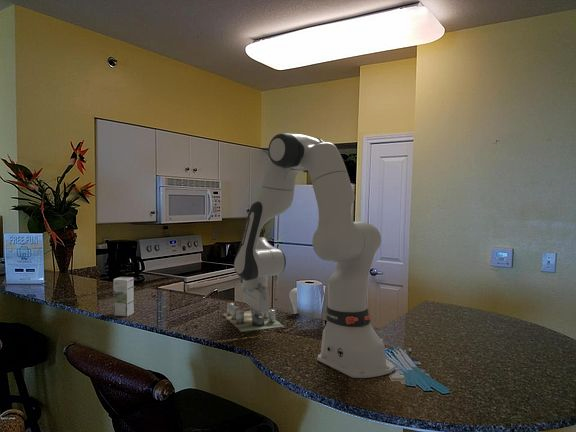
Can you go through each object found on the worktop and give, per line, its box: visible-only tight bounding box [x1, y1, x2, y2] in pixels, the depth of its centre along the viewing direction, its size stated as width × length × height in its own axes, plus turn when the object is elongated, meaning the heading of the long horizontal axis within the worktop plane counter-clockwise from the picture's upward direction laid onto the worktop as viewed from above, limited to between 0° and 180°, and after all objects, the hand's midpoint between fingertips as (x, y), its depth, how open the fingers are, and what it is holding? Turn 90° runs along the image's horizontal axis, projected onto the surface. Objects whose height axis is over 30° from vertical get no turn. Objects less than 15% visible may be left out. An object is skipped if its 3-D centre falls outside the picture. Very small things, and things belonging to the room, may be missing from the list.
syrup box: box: [112, 276, 135, 317], centre depth 160 cm, size 6×6×14 cm
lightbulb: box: [288, 287, 298, 315], centre depth 161 cm, size 6×6×11 cm
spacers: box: [226, 302, 277, 325], centre depth 154 cm, size 18×14×4 cm
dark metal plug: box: [252, 315, 264, 327], centre depth 146 cm, size 4×4×3 cm
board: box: [222, 310, 285, 333], centre depth 153 cm, size 24×16×1 cm, turn 24°
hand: (255, 319), depth 150 cm, fingers closed
